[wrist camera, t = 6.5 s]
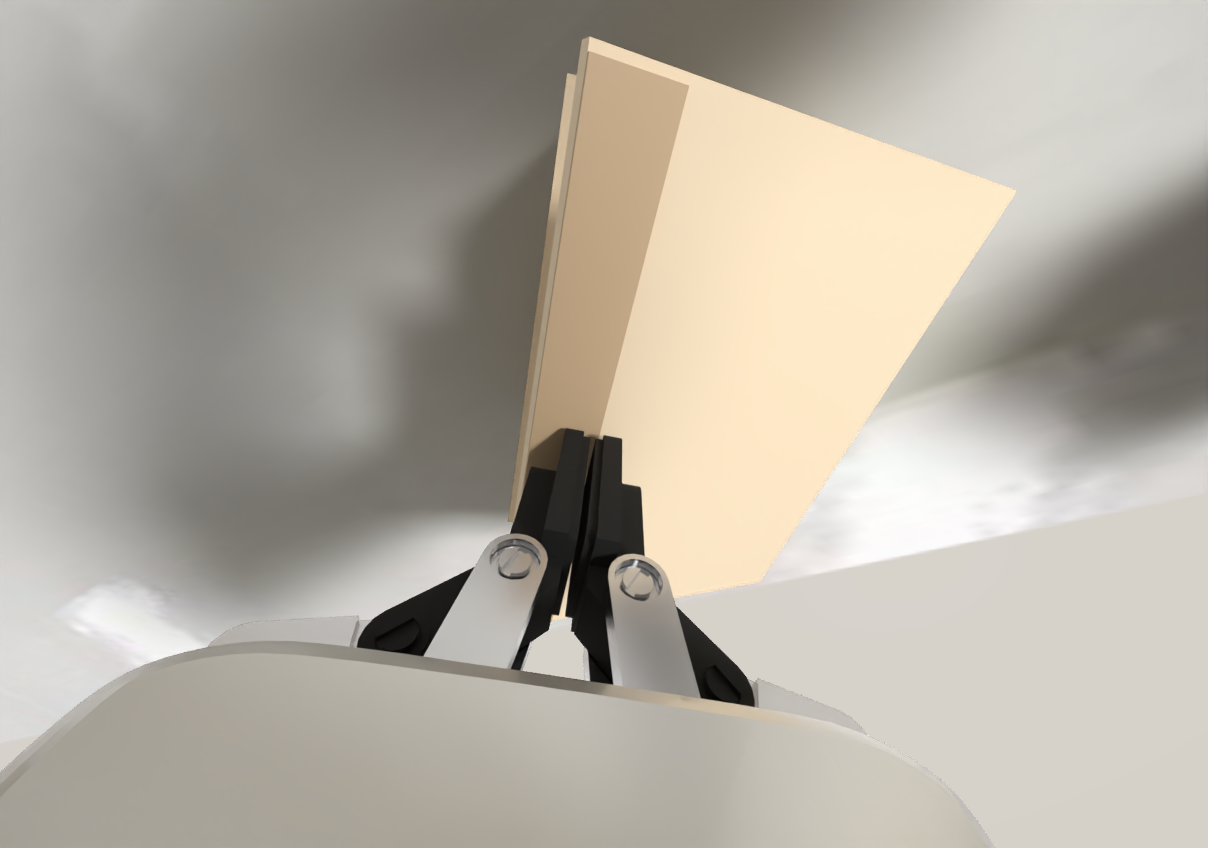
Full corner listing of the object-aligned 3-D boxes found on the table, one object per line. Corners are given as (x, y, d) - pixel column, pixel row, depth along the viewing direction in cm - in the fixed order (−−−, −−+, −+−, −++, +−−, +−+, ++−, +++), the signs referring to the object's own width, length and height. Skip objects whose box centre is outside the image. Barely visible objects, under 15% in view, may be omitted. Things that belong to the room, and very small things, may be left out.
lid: (581, 39, 8) (591, 35, 7) (999, 187, 12) (1021, 191, 12) (499, 618, 17) (501, 633, 17) (754, 574, 22) (761, 584, 22)
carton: (592, 106, 20) (567, 72, 12) (846, 174, 21) (989, 187, 13) (542, 417, 30) (508, 521, 21) (718, 454, 31) (752, 567, 22)
